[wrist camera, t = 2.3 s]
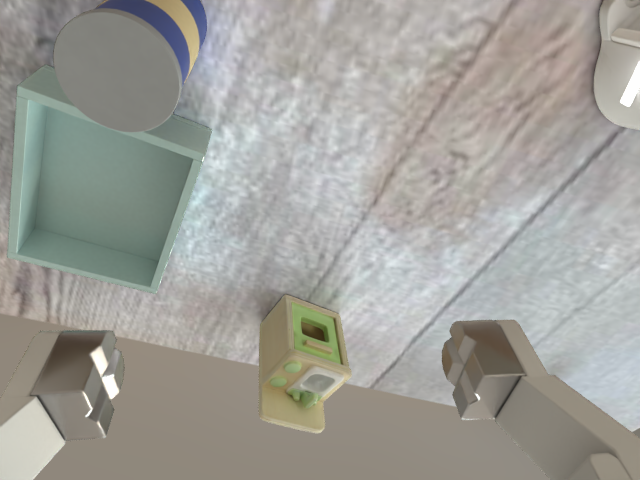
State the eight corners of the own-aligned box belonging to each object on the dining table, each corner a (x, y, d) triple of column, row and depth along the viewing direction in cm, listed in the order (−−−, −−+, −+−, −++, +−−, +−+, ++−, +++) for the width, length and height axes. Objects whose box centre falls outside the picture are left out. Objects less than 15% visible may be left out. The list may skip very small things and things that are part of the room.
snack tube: (131, -47, 30) (59, -14, 20) (219, -4, 32) (193, 46, 22) (115, 40, 33) (47, 106, 23) (195, 74, 36) (164, 148, 26)
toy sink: (344, 311, 56) (359, 405, 46) (314, 342, 59) (321, 436, 49) (287, 289, 52) (290, 385, 42) (259, 324, 56) (255, 420, 46)
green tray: (44, 63, 34) (16, 85, 30) (212, 128, 39) (205, 154, 35) (29, 226, 44) (6, 257, 40) (165, 263, 48) (156, 294, 45)
